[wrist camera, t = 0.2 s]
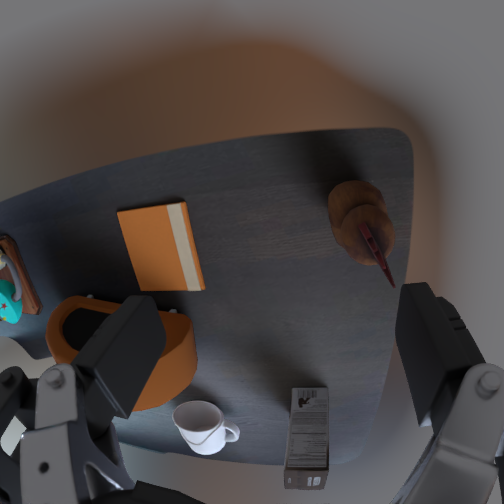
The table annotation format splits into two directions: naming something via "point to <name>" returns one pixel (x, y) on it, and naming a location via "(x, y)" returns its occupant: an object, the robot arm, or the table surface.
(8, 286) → the contraption on wooden base
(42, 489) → the robot arm
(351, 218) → the wooden figurine
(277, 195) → the table surface
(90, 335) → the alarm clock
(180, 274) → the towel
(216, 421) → the mug
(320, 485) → the coffee box
